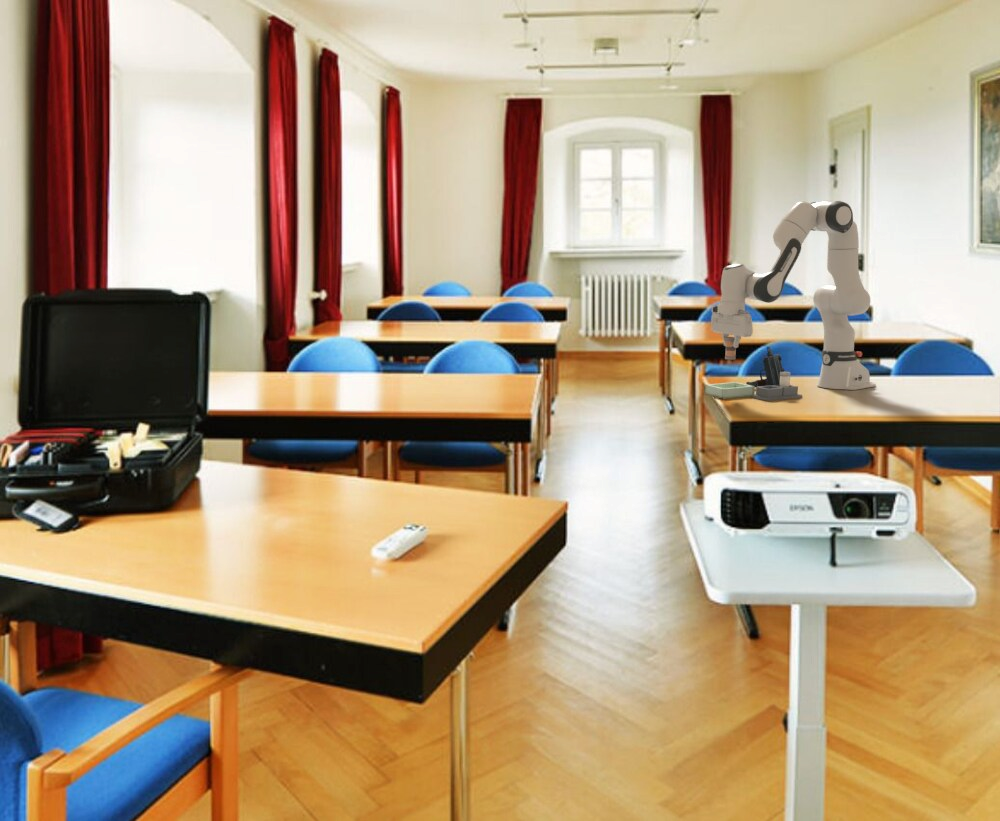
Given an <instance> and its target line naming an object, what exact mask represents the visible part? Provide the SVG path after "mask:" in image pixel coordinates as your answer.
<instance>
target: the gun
mask: <svg viewBox="0 0 1000 821" xmlns="http://www.w3.org/2000/svg"><path fill="white" fill-rule="evenodd" d="M766 350H767V352H766V355H767V356H765V357H763V359H762V365H763V367H764V368H763V369H761V370H759V377H760V379H757V380H755V381H746V383H745V384H747V385H751V386H755V387H754V389H756V387H759V386H770V385H771V386H772V385H780V372H786V371H785V369H784V367H783V365H782V361H783V360H782V356H781V355H780V354H779V353H778V354H773V351H772V350H771V347H770V346H766ZM763 371H764V373H765V374H762V372H763ZM763 377H765V378H763Z"/></svg>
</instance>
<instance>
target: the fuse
mask: <svg viewBox="0 0 1000 821" xmlns="http://www.w3.org/2000/svg"><path fill="white" fill-rule="evenodd" d="M790 385H791V372H790V371H785V372H780V387H790Z"/></svg>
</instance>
